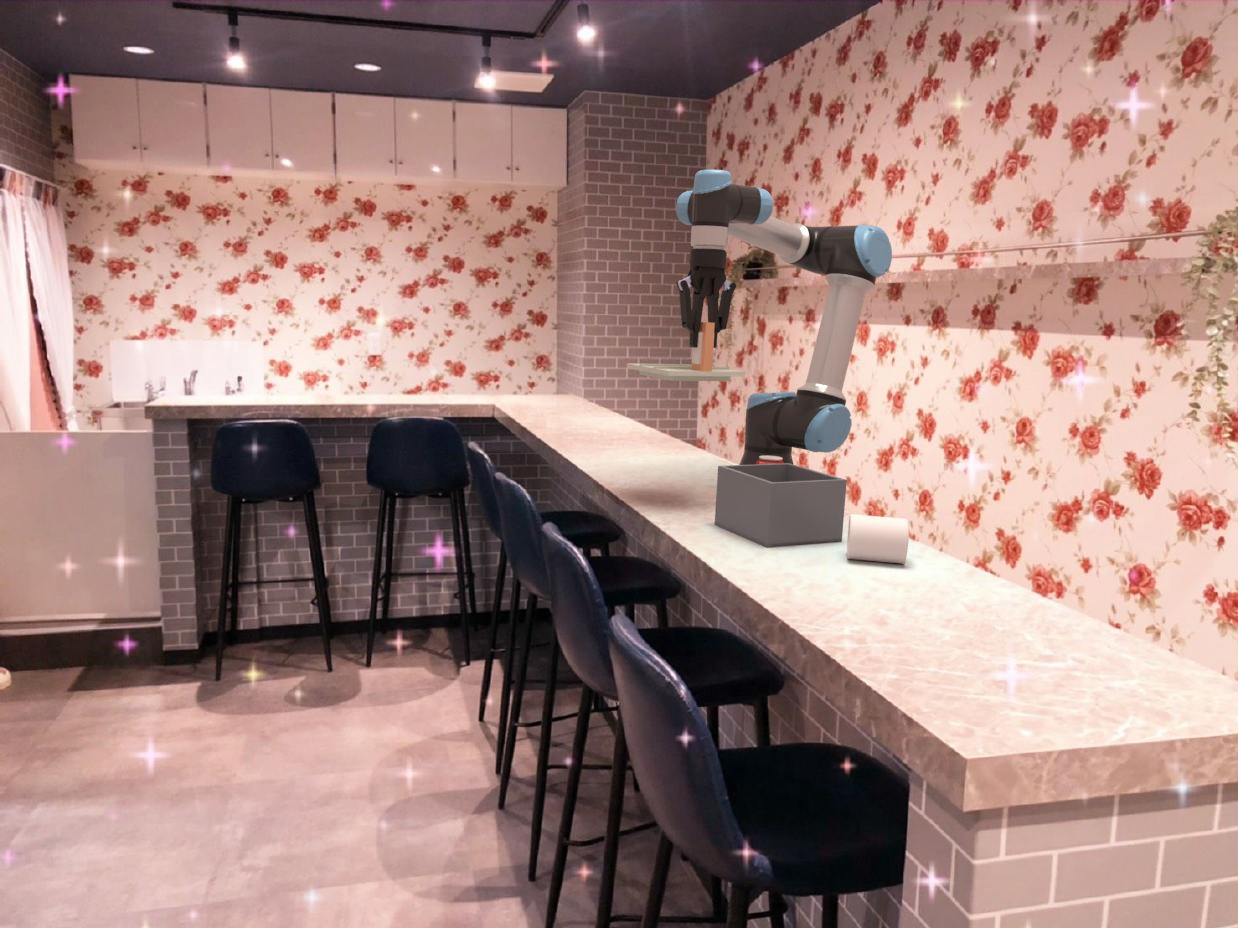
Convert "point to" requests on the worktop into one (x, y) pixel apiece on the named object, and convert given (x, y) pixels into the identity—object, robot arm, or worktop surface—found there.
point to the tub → (780, 504)
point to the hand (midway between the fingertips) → (702, 363)
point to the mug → (877, 539)
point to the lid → (691, 371)
